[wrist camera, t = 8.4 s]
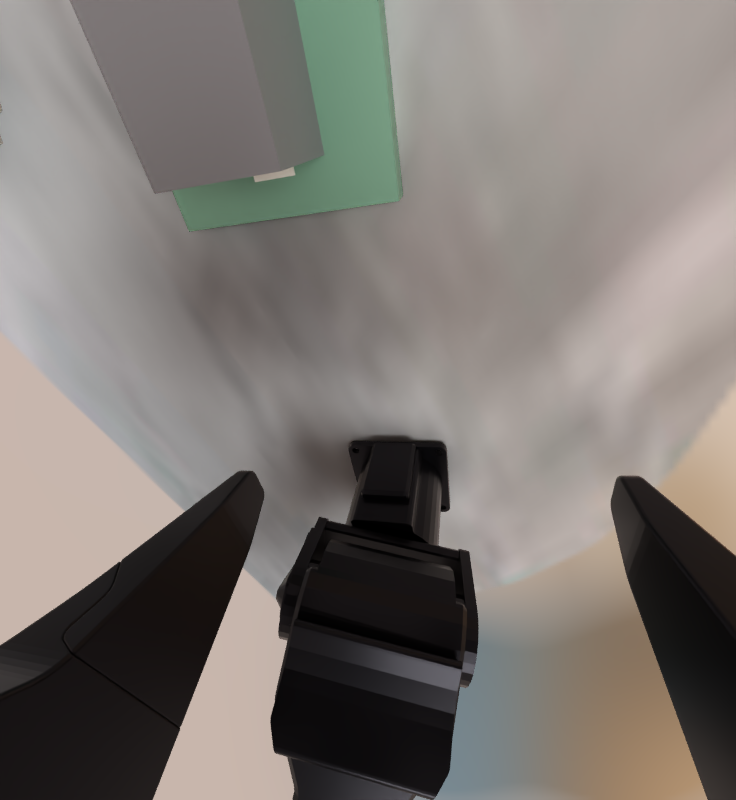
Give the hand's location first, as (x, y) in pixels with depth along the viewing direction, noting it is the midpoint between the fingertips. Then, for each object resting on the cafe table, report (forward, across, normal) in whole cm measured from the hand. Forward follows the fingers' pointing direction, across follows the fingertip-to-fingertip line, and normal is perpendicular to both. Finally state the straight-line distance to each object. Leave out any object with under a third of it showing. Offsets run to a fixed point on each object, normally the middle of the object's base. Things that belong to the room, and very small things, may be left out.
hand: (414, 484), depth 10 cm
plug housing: (+10, +6, -11) cm, 16 cm away
